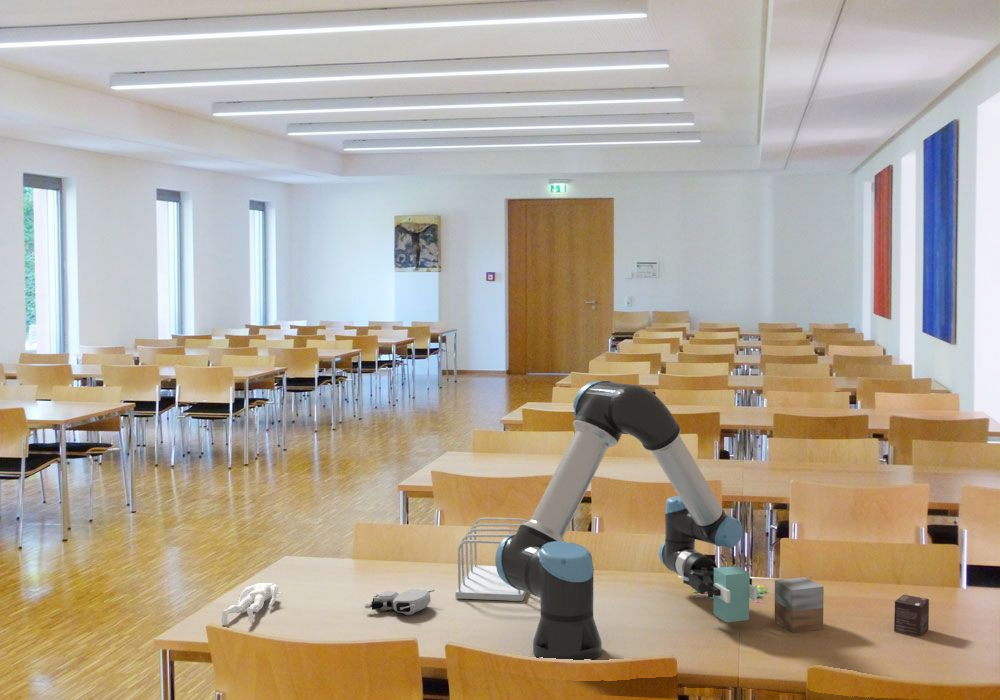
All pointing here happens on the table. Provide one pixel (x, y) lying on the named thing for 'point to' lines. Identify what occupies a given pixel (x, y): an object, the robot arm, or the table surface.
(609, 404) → the robot arm
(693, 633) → the table surface
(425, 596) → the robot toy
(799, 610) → the grey wood-grain cube
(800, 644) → the table surface
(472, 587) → the file sorter
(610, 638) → the table surface
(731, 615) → the teal brick
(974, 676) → the table surface
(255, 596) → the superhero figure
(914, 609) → the box
